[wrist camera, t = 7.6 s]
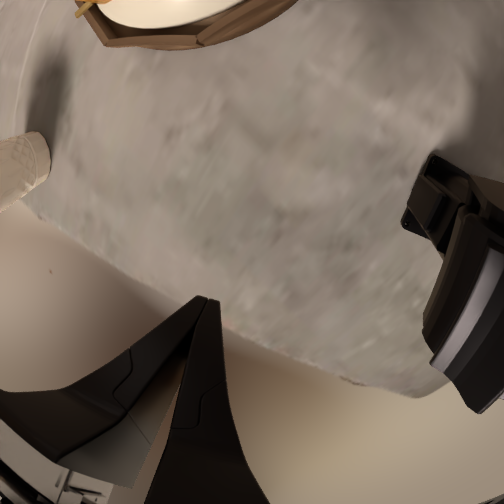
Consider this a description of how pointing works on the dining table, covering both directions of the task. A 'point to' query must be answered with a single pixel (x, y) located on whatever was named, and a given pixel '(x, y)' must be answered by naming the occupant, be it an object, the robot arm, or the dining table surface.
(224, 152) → the dining table surface
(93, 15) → the dial housing
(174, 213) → the dining table surface
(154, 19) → the dial
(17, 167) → the white cup
